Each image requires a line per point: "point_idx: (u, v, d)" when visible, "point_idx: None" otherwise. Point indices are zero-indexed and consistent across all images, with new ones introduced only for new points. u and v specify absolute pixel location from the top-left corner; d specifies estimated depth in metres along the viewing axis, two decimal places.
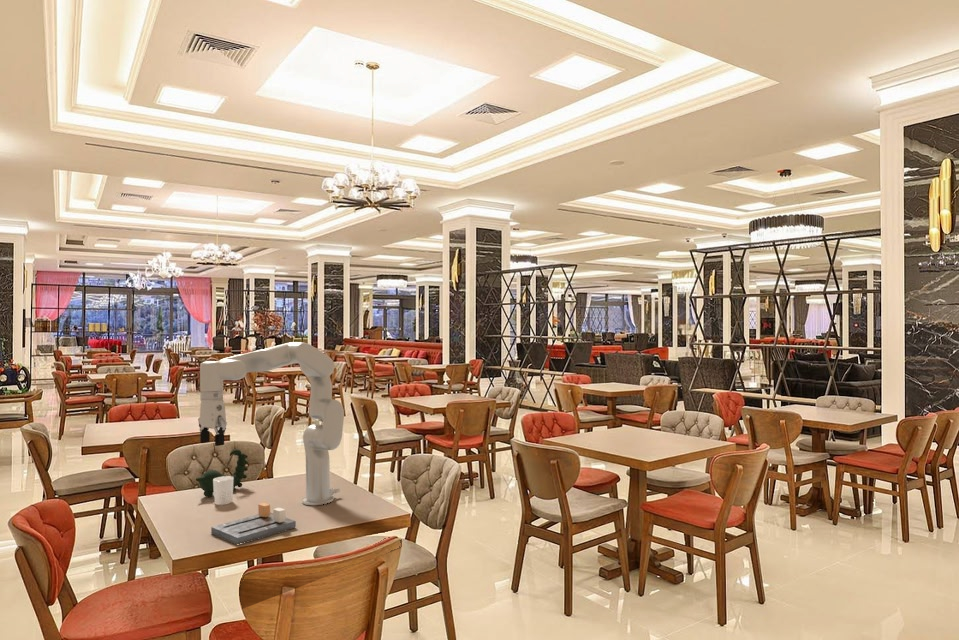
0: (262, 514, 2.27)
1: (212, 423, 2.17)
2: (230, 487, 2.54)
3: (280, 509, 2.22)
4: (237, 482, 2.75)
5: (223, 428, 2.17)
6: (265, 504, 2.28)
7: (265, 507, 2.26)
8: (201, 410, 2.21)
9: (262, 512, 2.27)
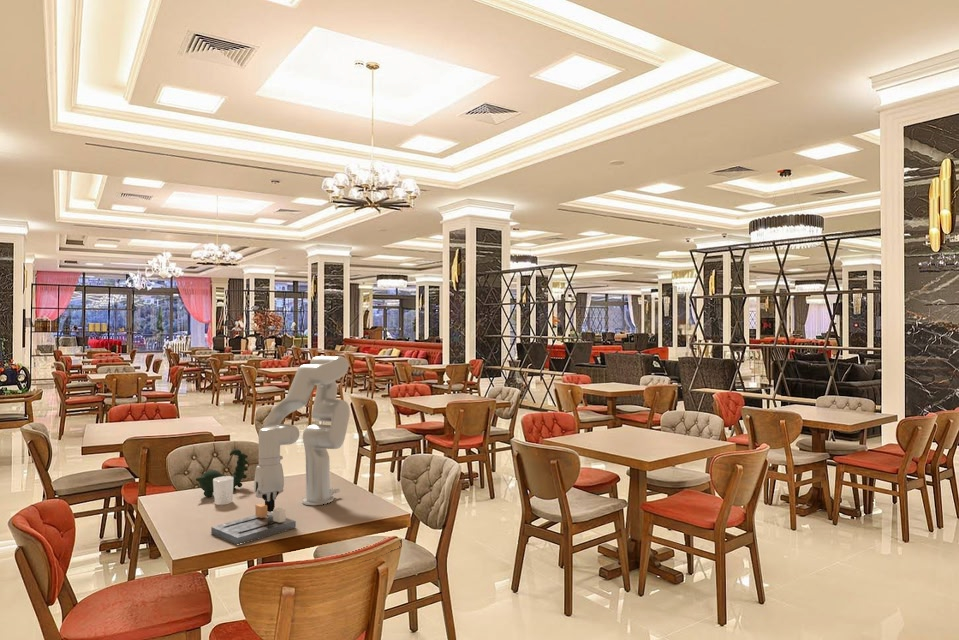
0: (259, 515, 2.26)
1: (282, 484, 2.31)
2: (230, 487, 2.54)
3: (280, 509, 2.22)
4: (237, 482, 2.75)
5: None
6: (262, 505, 2.27)
7: (262, 508, 2.25)
8: (265, 477, 2.26)
9: (259, 513, 2.26)
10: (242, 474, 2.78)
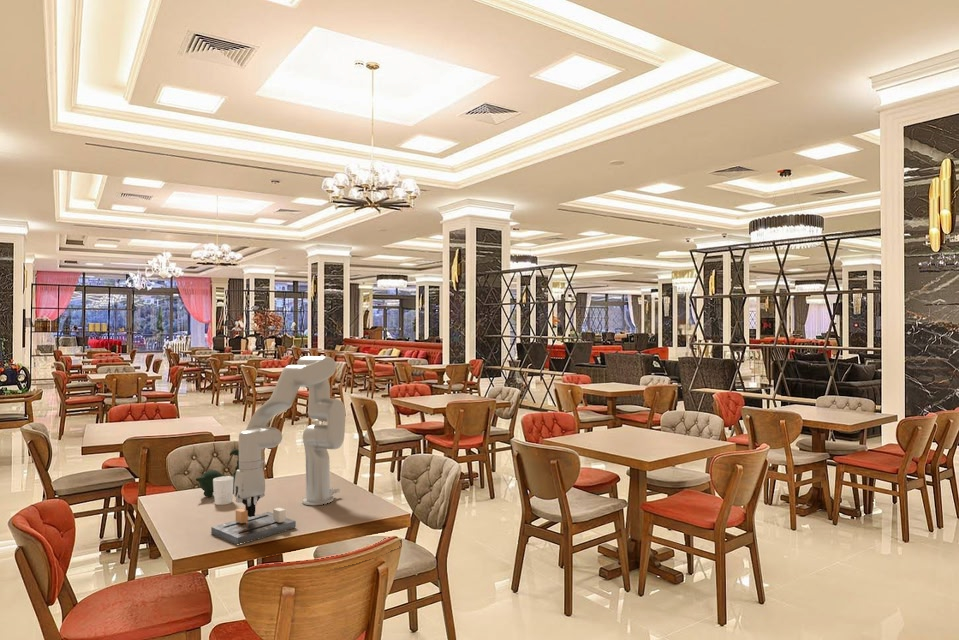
0: (239, 520, 2.20)
1: (263, 489, 2.26)
2: (230, 487, 2.54)
3: (280, 509, 2.22)
4: None
5: None
6: (242, 510, 2.21)
7: (242, 513, 2.19)
8: (245, 481, 2.20)
9: (239, 518, 2.20)
10: None
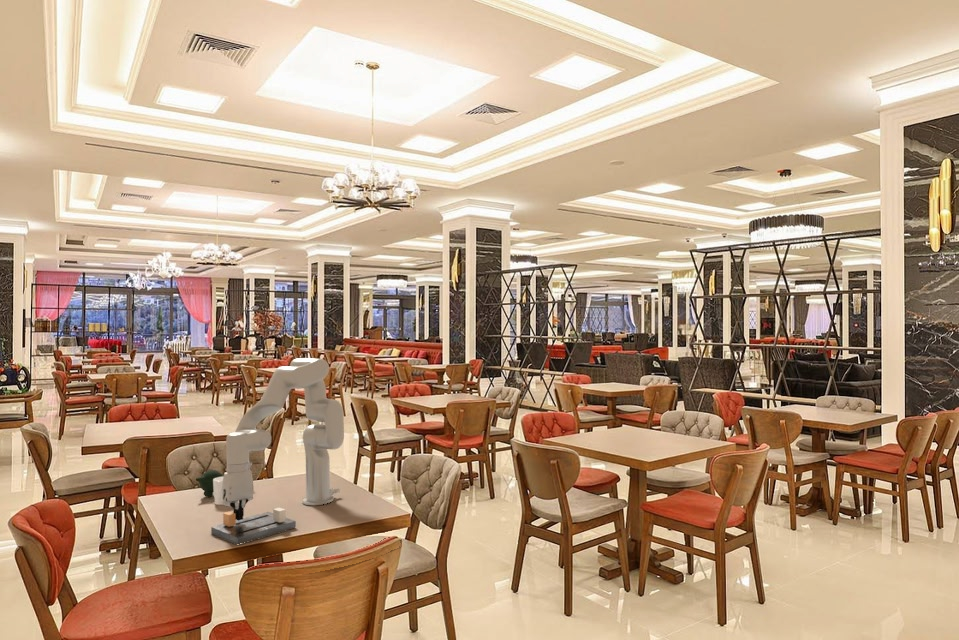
0: (227, 523, 2.16)
1: (251, 492, 2.22)
2: None
3: (280, 509, 2.22)
4: None
5: None
6: (230, 513, 2.18)
7: (230, 516, 2.16)
8: (233, 484, 2.17)
9: (227, 521, 2.16)
10: None
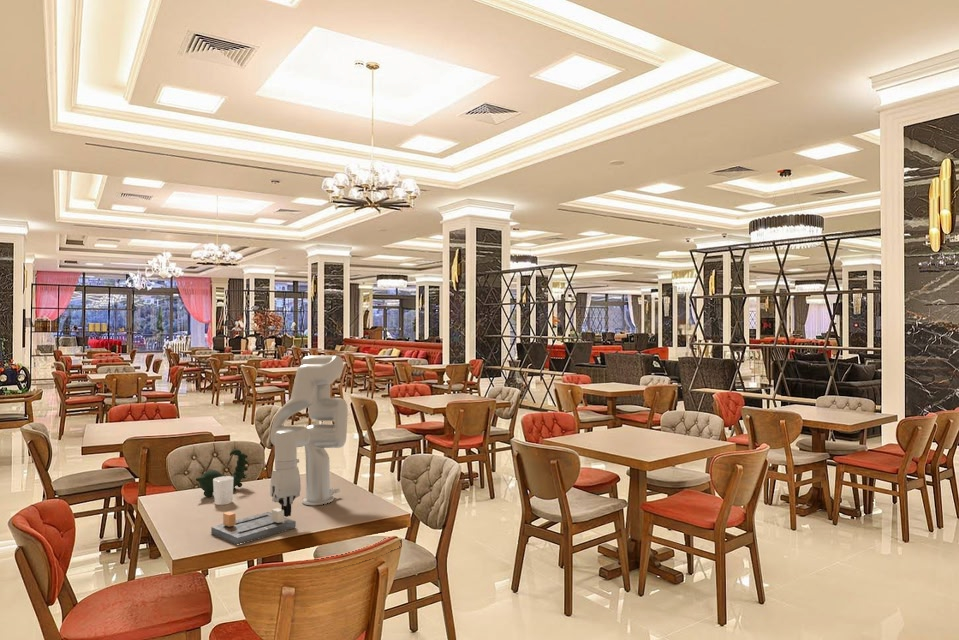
0: (227, 523, 2.16)
1: (299, 488, 2.25)
2: (230, 487, 2.54)
3: (279, 509, 2.21)
4: (237, 482, 2.75)
5: None
6: (230, 513, 2.18)
7: (230, 516, 2.16)
8: (282, 481, 2.20)
9: (227, 521, 2.16)
10: (242, 474, 2.78)
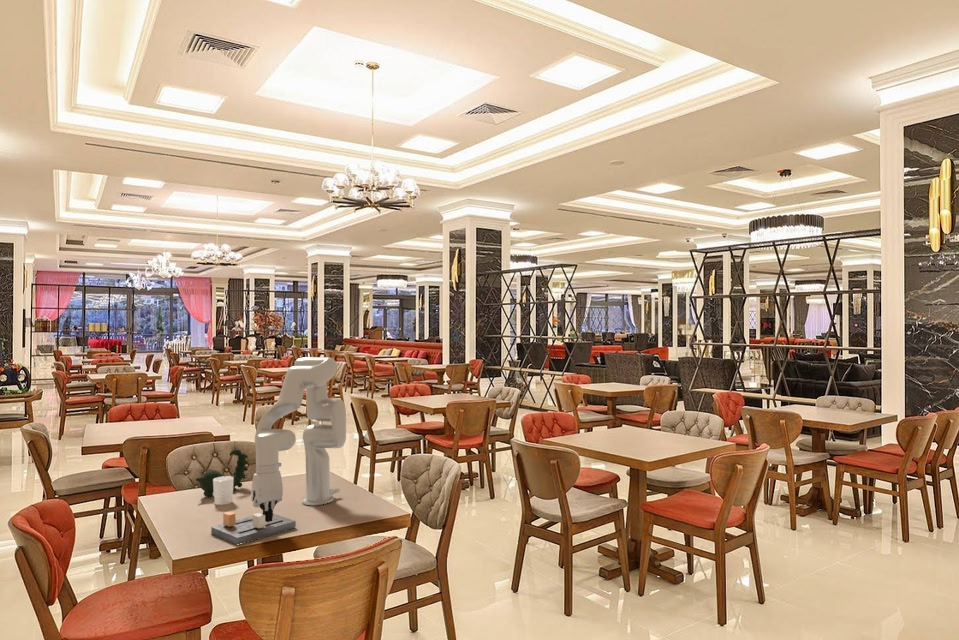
0: (227, 523, 2.16)
1: (281, 493, 2.20)
2: (230, 487, 2.54)
3: (260, 514, 2.16)
4: (237, 482, 2.75)
5: None
6: (230, 513, 2.18)
7: (230, 516, 2.16)
8: (263, 486, 2.14)
9: (227, 521, 2.16)
10: (242, 474, 2.78)
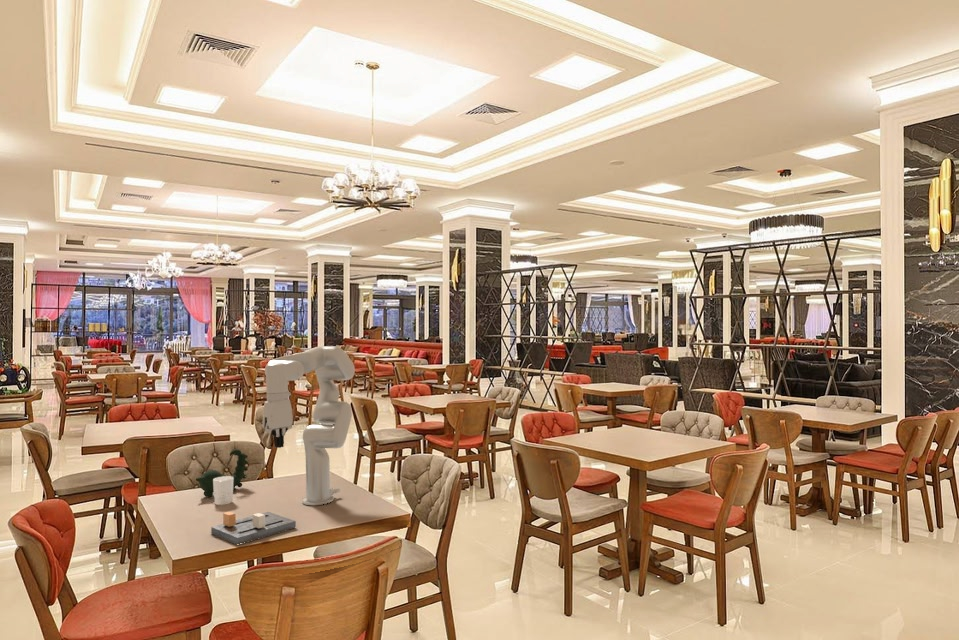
0: (227, 523, 2.16)
1: (291, 420, 2.28)
2: (230, 487, 2.54)
3: (260, 514, 2.16)
4: (237, 482, 2.75)
5: None
6: (230, 513, 2.18)
7: (230, 516, 2.16)
8: (274, 412, 2.23)
9: (227, 521, 2.16)
10: (242, 474, 2.78)
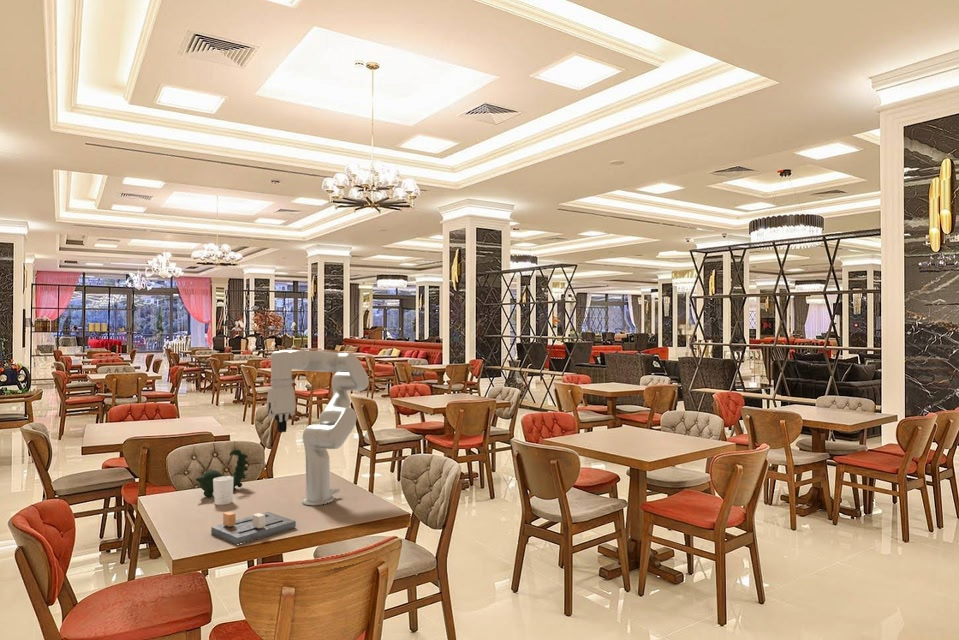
0: (227, 523, 2.16)
1: (294, 407, 2.38)
2: (230, 487, 2.54)
3: (260, 514, 2.16)
4: (237, 482, 2.75)
5: None
6: (230, 513, 2.18)
7: (230, 516, 2.16)
8: (278, 398, 2.33)
9: (227, 521, 2.16)
10: (242, 474, 2.78)
